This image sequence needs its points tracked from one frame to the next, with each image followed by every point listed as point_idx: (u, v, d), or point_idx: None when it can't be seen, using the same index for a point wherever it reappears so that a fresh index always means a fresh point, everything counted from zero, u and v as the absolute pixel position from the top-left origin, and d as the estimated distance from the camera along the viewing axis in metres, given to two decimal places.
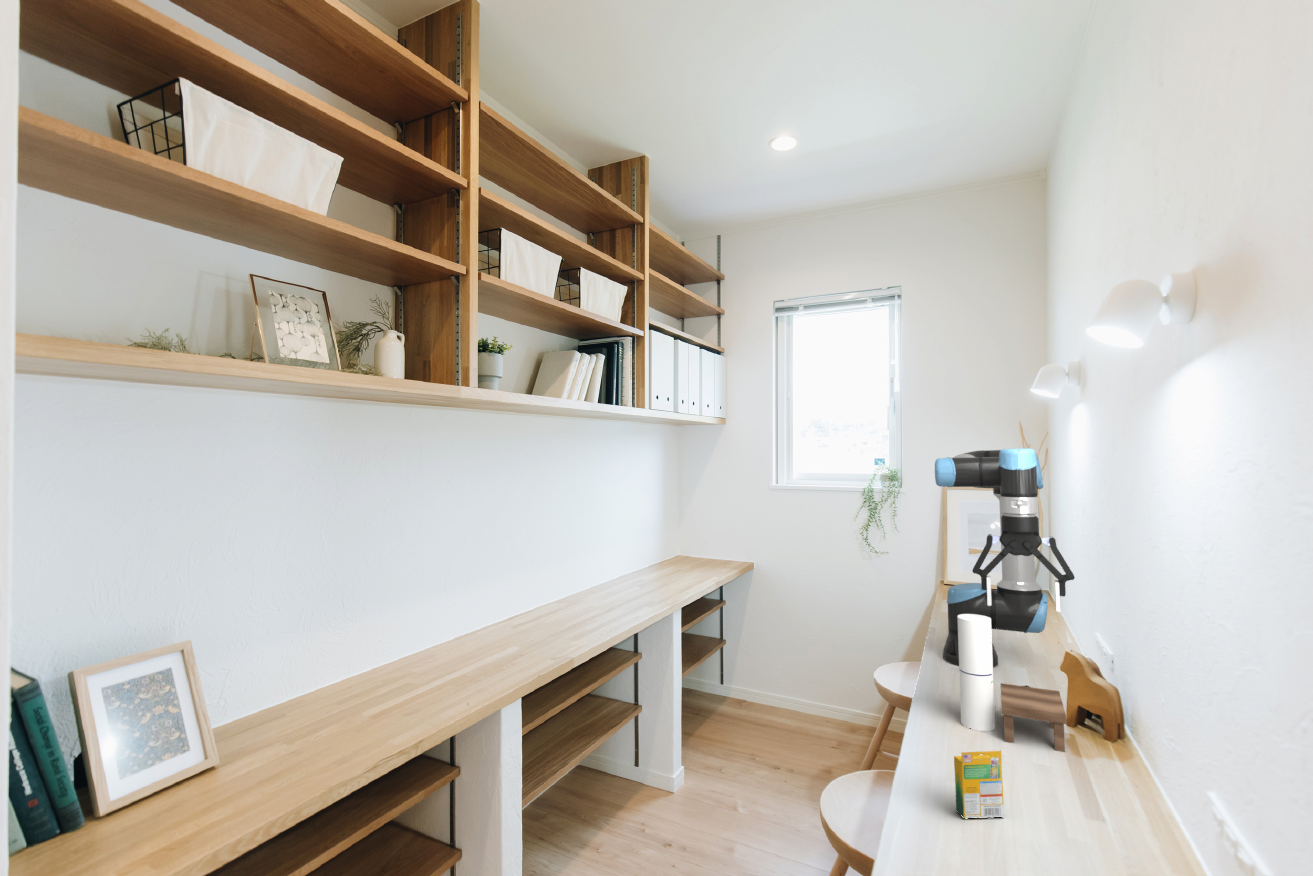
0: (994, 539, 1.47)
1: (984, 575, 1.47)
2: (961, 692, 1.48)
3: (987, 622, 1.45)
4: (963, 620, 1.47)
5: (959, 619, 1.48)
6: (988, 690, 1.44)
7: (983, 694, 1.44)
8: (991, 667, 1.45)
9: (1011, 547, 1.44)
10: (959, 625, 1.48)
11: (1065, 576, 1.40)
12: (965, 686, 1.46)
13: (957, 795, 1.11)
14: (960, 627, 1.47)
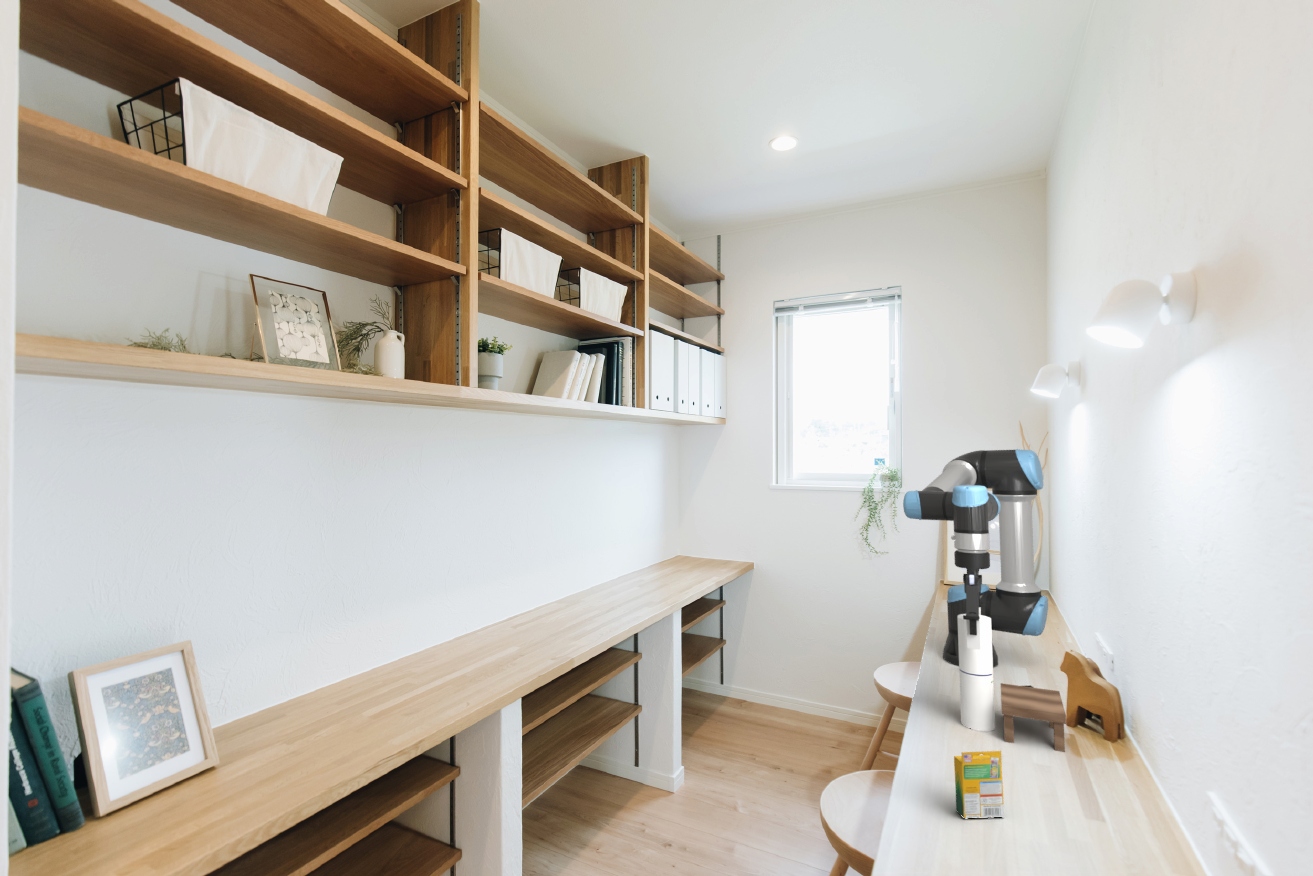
0: None
1: None
2: (961, 692, 1.48)
3: (987, 622, 1.45)
4: (963, 620, 1.47)
5: (959, 619, 1.48)
6: (988, 690, 1.44)
7: (983, 694, 1.44)
8: (991, 667, 1.45)
9: None
10: (959, 625, 1.48)
11: None
12: (965, 686, 1.46)
13: (957, 795, 1.11)
14: (960, 627, 1.47)
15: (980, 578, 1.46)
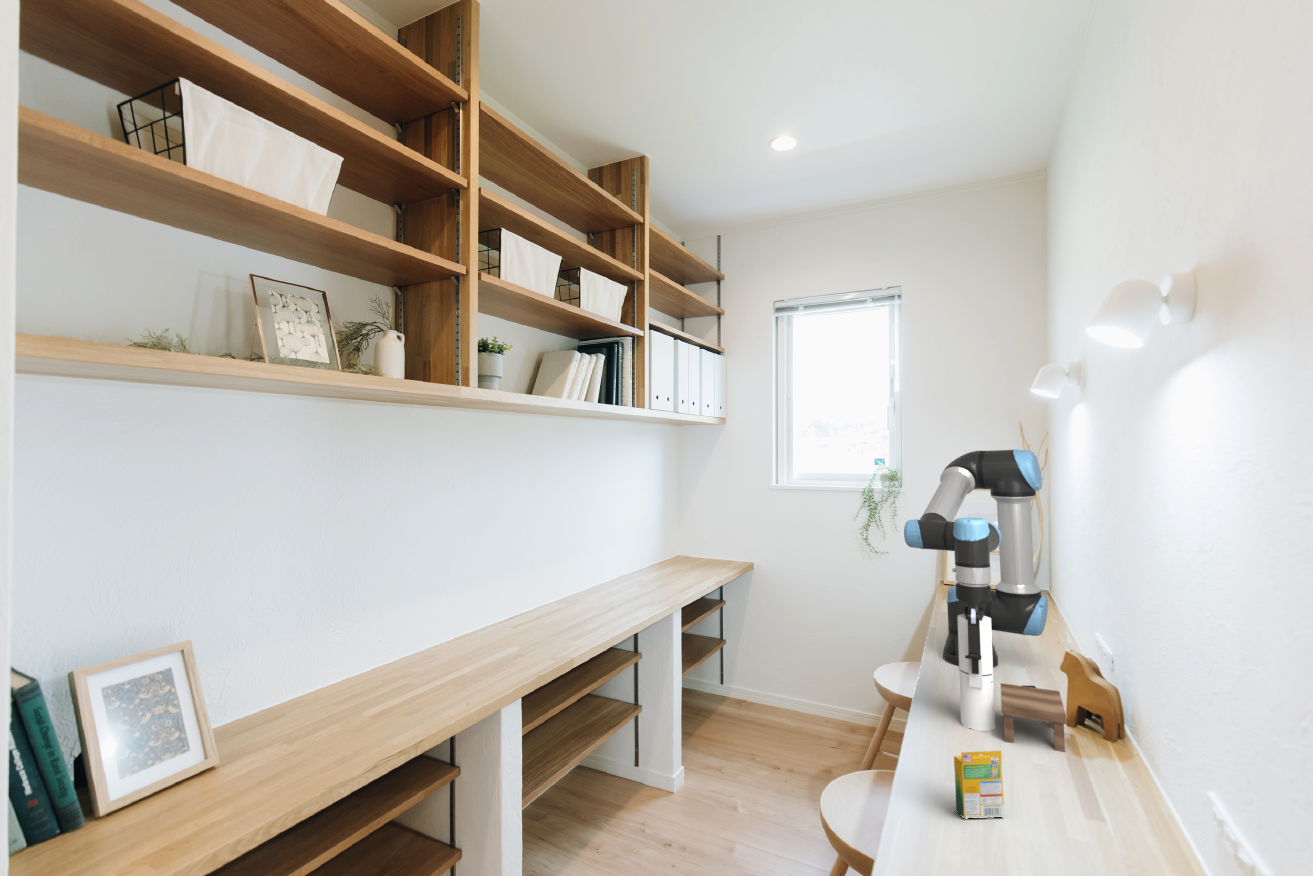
0: None
1: None
2: (961, 692, 1.48)
3: (987, 622, 1.45)
4: (963, 620, 1.47)
5: (959, 619, 1.48)
6: (988, 690, 1.44)
7: (983, 694, 1.44)
8: (991, 667, 1.45)
9: None
10: (959, 625, 1.48)
11: None
12: (965, 686, 1.46)
13: (957, 795, 1.11)
14: (960, 627, 1.47)
15: (981, 613, 1.46)
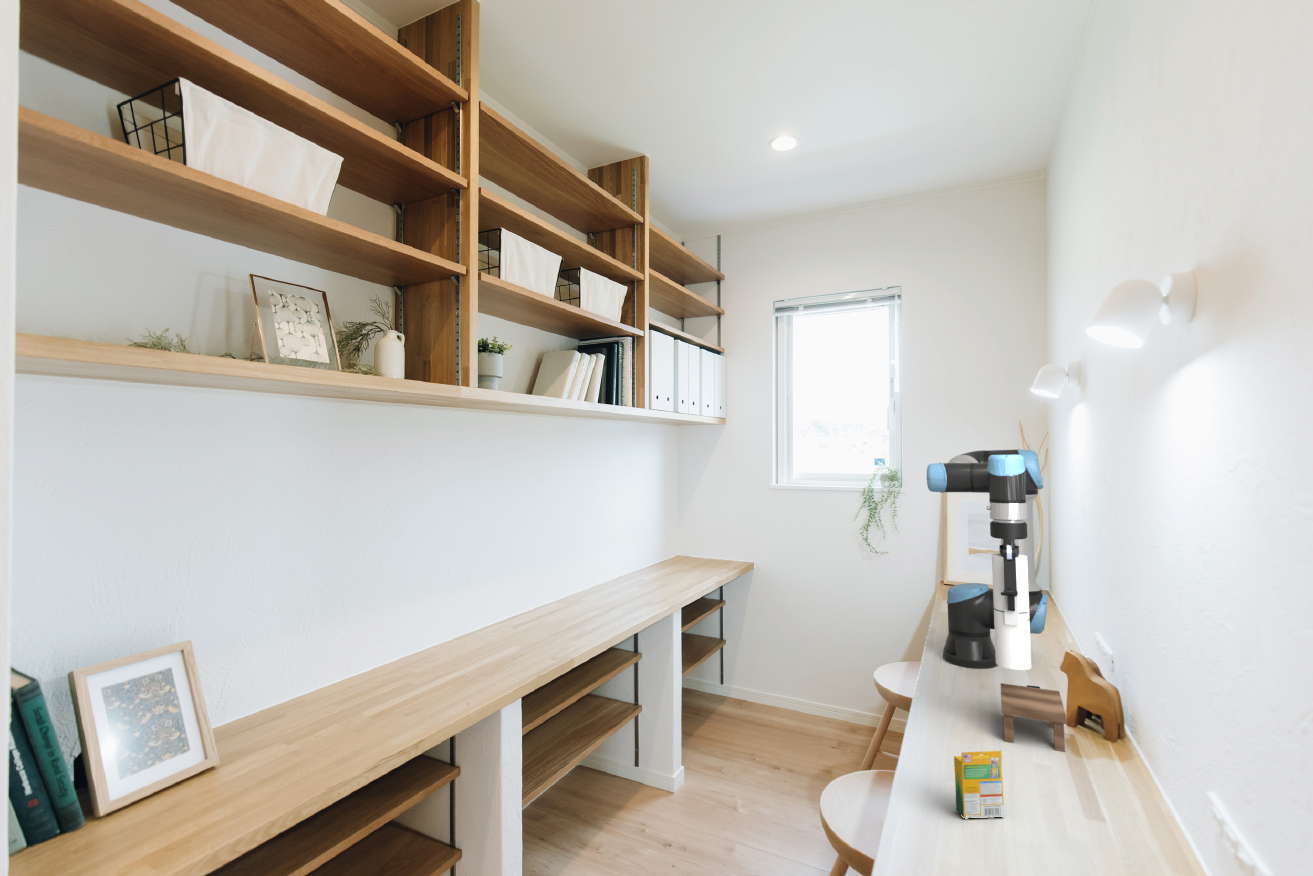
0: None
1: None
2: (996, 631, 1.44)
3: (1023, 559, 1.41)
4: (998, 557, 1.43)
5: (994, 557, 1.45)
6: (1025, 628, 1.41)
7: (1019, 632, 1.41)
8: (1027, 605, 1.42)
9: None
10: (994, 563, 1.45)
11: None
12: (1000, 624, 1.43)
13: (957, 795, 1.11)
14: (995, 565, 1.44)
15: (1017, 549, 1.42)
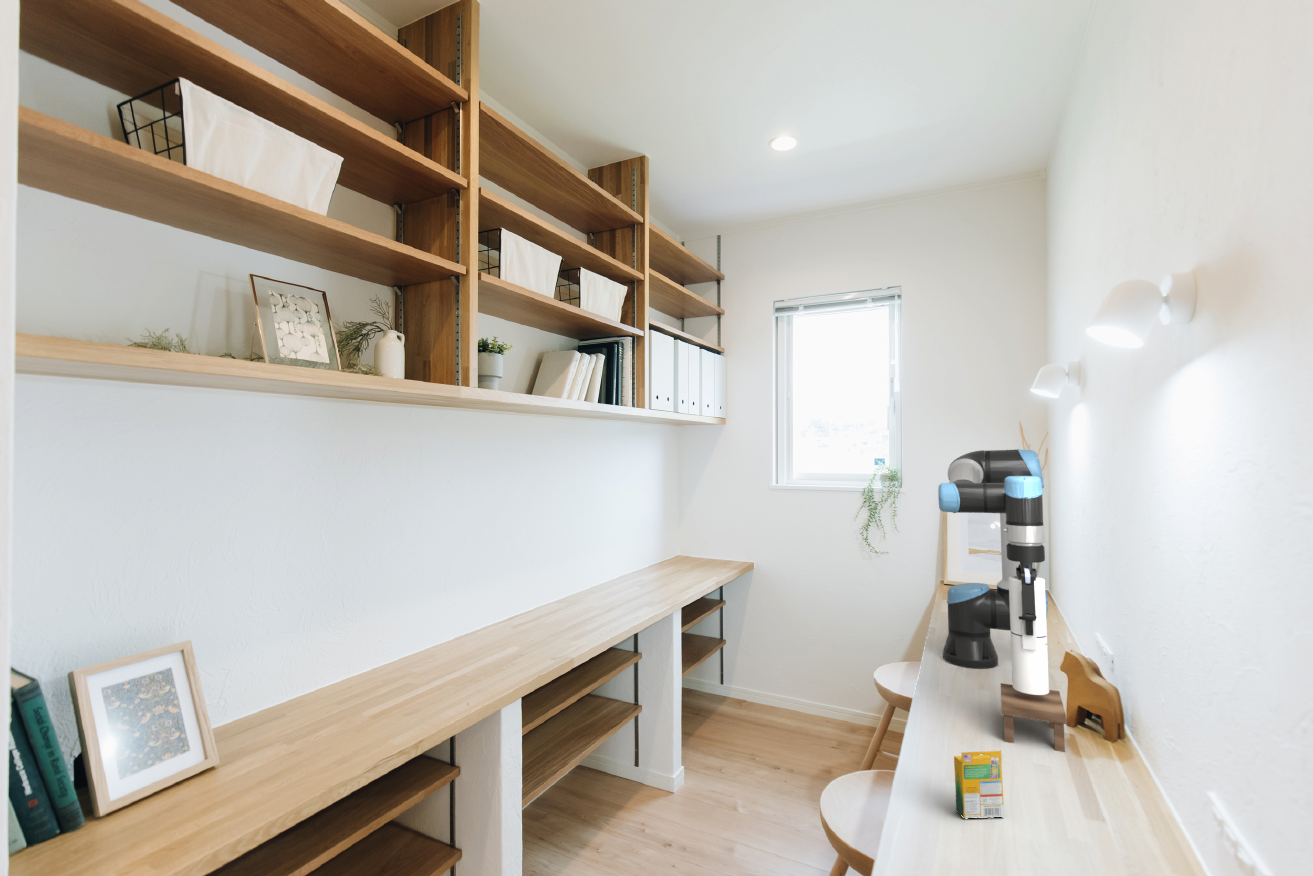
0: None
1: None
2: (1013, 655, 1.43)
3: (1041, 582, 1.40)
4: (1015, 581, 1.42)
5: (1011, 580, 1.43)
6: (1043, 653, 1.39)
7: (1038, 656, 1.39)
8: (1045, 629, 1.40)
9: (1016, 574, 1.45)
10: (1011, 586, 1.43)
11: None
12: (1018, 649, 1.41)
13: (957, 795, 1.11)
14: (1012, 588, 1.43)
15: (1035, 573, 1.41)
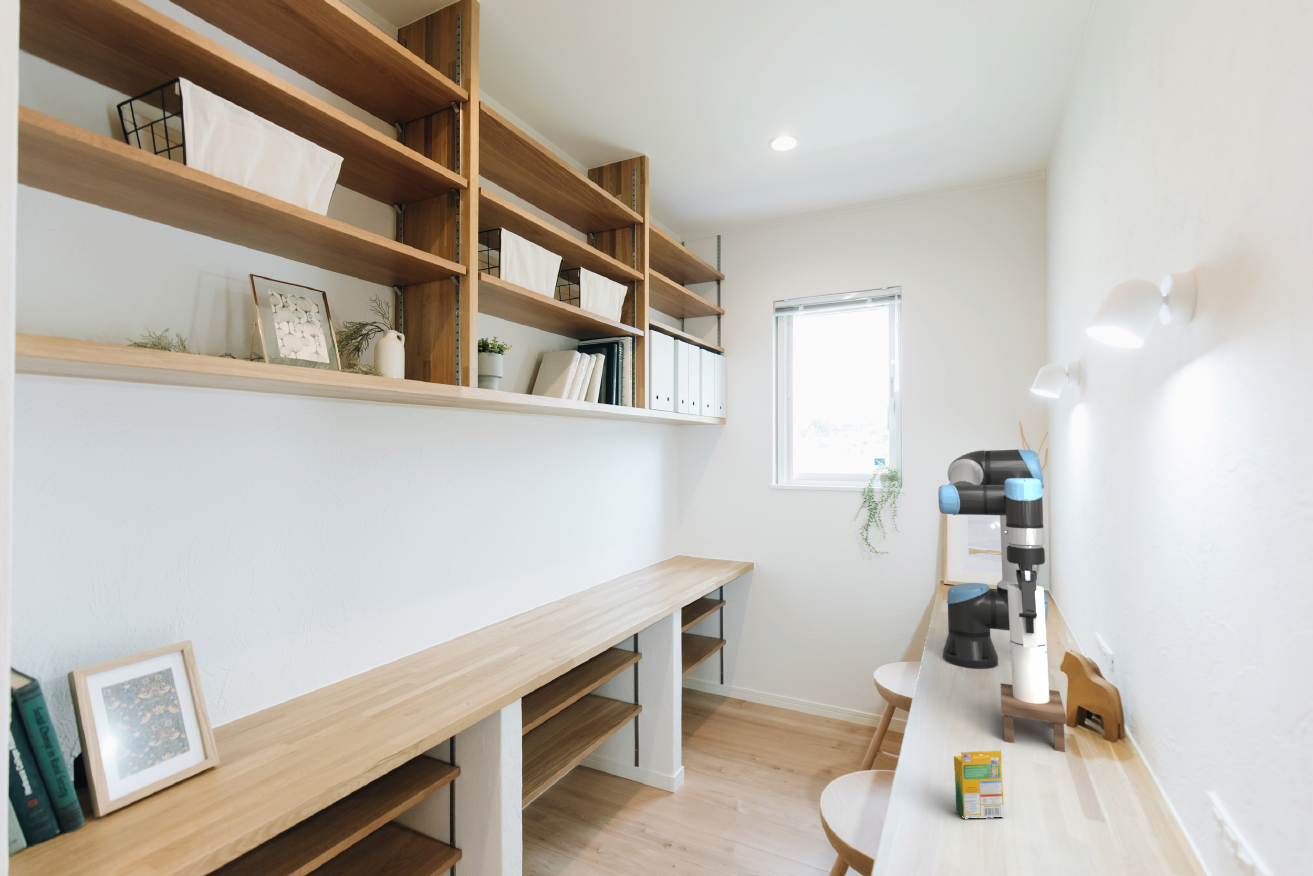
0: None
1: None
2: (1013, 664, 1.43)
3: (1040, 591, 1.40)
4: (1014, 589, 1.42)
5: (1010, 589, 1.43)
6: (1043, 661, 1.39)
7: (1037, 665, 1.39)
8: (1045, 637, 1.40)
9: None
10: (1010, 595, 1.43)
11: None
12: (1018, 657, 1.41)
13: (957, 795, 1.11)
14: (1011, 597, 1.43)
15: (1035, 574, 1.41)
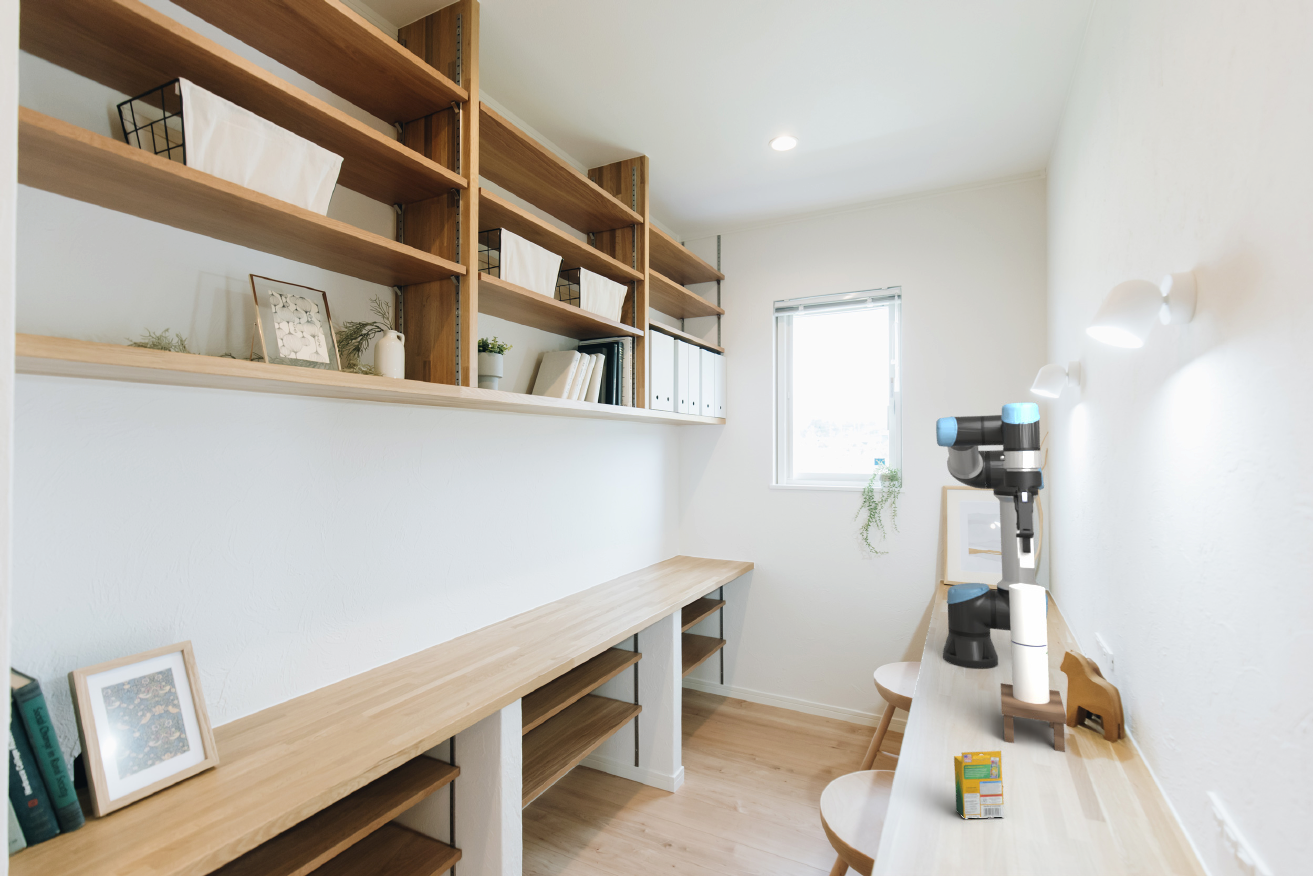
0: None
1: (1017, 528, 1.51)
2: (1013, 664, 1.43)
3: (1041, 591, 1.40)
4: (1016, 589, 1.42)
5: (1011, 589, 1.43)
6: (1043, 662, 1.39)
7: (1038, 665, 1.39)
8: (1045, 638, 1.40)
9: (1014, 501, 1.46)
10: (1011, 595, 1.43)
11: None
12: (1018, 657, 1.41)
13: (957, 795, 1.11)
14: (1013, 597, 1.43)
15: (1032, 497, 1.41)
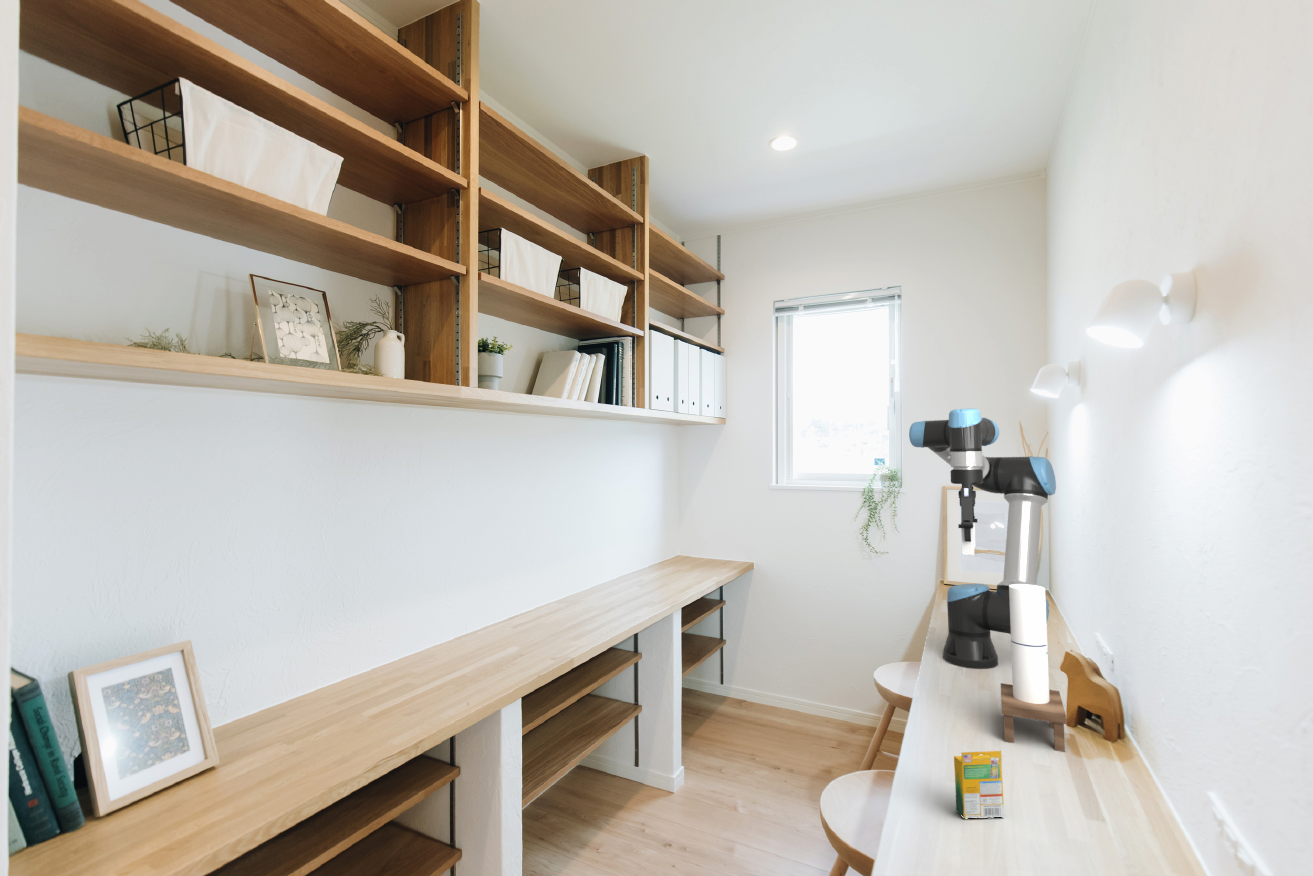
0: None
1: None
2: (1013, 664, 1.43)
3: (1041, 591, 1.40)
4: (1016, 589, 1.42)
5: (1011, 589, 1.43)
6: (1043, 662, 1.39)
7: (1038, 665, 1.39)
8: (1045, 638, 1.40)
9: None
10: (1011, 595, 1.43)
11: None
12: (1018, 657, 1.41)
13: (957, 795, 1.11)
14: (1013, 597, 1.43)
15: (974, 492, 1.59)
